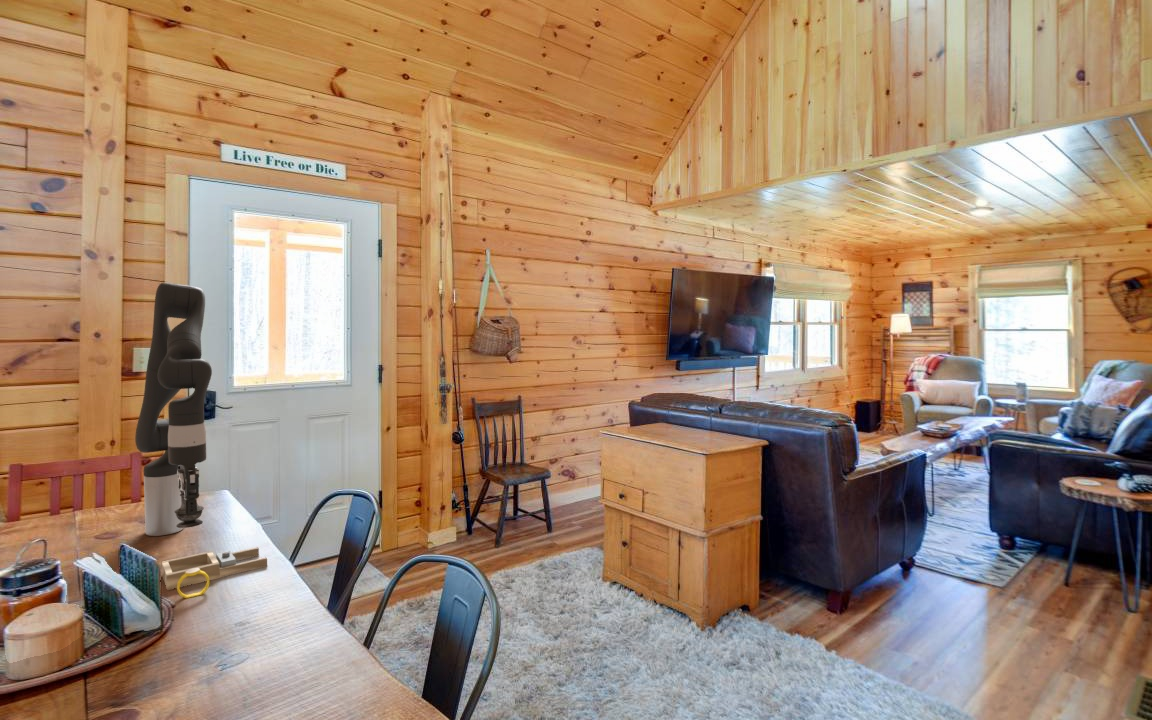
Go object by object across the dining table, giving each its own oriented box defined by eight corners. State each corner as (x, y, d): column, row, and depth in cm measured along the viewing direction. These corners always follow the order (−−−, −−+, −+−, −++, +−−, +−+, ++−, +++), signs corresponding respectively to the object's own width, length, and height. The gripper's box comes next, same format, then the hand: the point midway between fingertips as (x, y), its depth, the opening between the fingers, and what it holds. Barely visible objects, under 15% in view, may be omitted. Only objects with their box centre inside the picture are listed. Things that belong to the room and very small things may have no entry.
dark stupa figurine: (189, 529, 135) (188, 478, 134) (168, 527, 136) (167, 477, 135) (210, 521, 140) (208, 472, 140) (189, 519, 142) (188, 471, 141)
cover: (216, 565, 145) (216, 550, 145) (230, 562, 147) (229, 547, 147) (222, 574, 140) (221, 559, 140) (236, 571, 142) (235, 555, 142)
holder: (161, 575, 139) (161, 561, 139) (257, 554, 153) (257, 541, 153) (167, 590, 131) (166, 575, 131) (267, 566, 145) (267, 552, 145)
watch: (179, 603, 126) (175, 577, 126) (178, 598, 128) (175, 572, 128) (211, 593, 130) (208, 568, 129) (209, 589, 132) (206, 564, 132)
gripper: (211, 445, 134) (212, 516, 135) (200, 436, 145) (202, 501, 146) (172, 449, 129) (174, 522, 130) (164, 439, 140) (166, 507, 141)
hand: (189, 511), depth 138 cm, fingers closed on dark stupa figurine, 6 cm apart
